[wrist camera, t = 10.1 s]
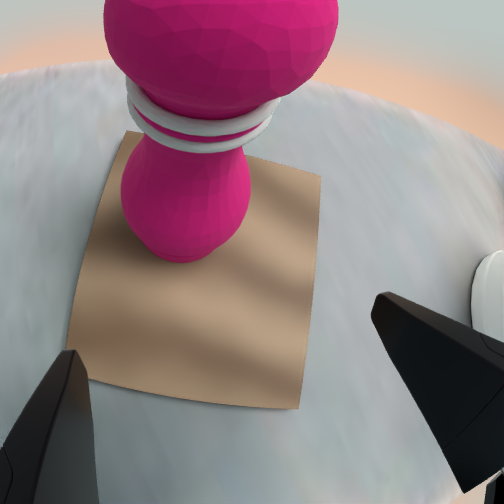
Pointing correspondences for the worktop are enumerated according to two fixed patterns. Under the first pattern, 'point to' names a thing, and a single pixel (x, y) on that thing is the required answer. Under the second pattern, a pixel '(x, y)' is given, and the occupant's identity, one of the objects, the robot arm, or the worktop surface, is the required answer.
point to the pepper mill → (205, 106)
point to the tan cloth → (203, 298)
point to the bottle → (489, 296)
